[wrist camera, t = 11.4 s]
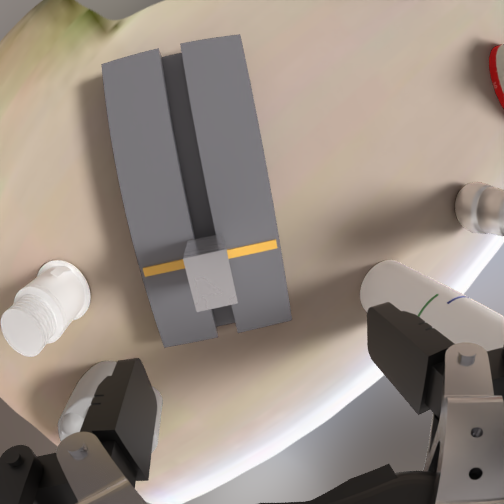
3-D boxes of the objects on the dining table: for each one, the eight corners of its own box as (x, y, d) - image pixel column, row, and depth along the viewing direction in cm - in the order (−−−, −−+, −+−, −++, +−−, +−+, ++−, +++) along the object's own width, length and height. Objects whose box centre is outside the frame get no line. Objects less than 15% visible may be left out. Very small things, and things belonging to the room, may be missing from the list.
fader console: (109, 73, 26) (100, 63, 23) (236, 46, 27) (240, 33, 24) (167, 333, 33) (164, 349, 30) (284, 308, 34) (292, 321, 31)
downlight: (47, 243, 29) (-4, 275, 19) (101, 274, 30) (63, 317, 21) (31, 303, 30) (-12, 346, 21) (81, 332, 32) (47, 384, 22)
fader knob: (189, 234, 30) (182, 258, 21) (220, 228, 30) (226, 249, 22) (198, 274, 31) (196, 312, 22) (228, 268, 31) (238, 303, 23)
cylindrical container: (410, 306, 37) (556, 413, 13) (362, 324, 36) (502, 465, 12) (407, 253, 35) (585, 340, 11) (356, 269, 34) (535, 393, 10)
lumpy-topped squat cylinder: (173, 400, 35) (170, 450, 27) (120, 445, 36) (111, 491, 28) (104, 350, 33) (82, 395, 24) (59, 404, 33) (38, 447, 25)
